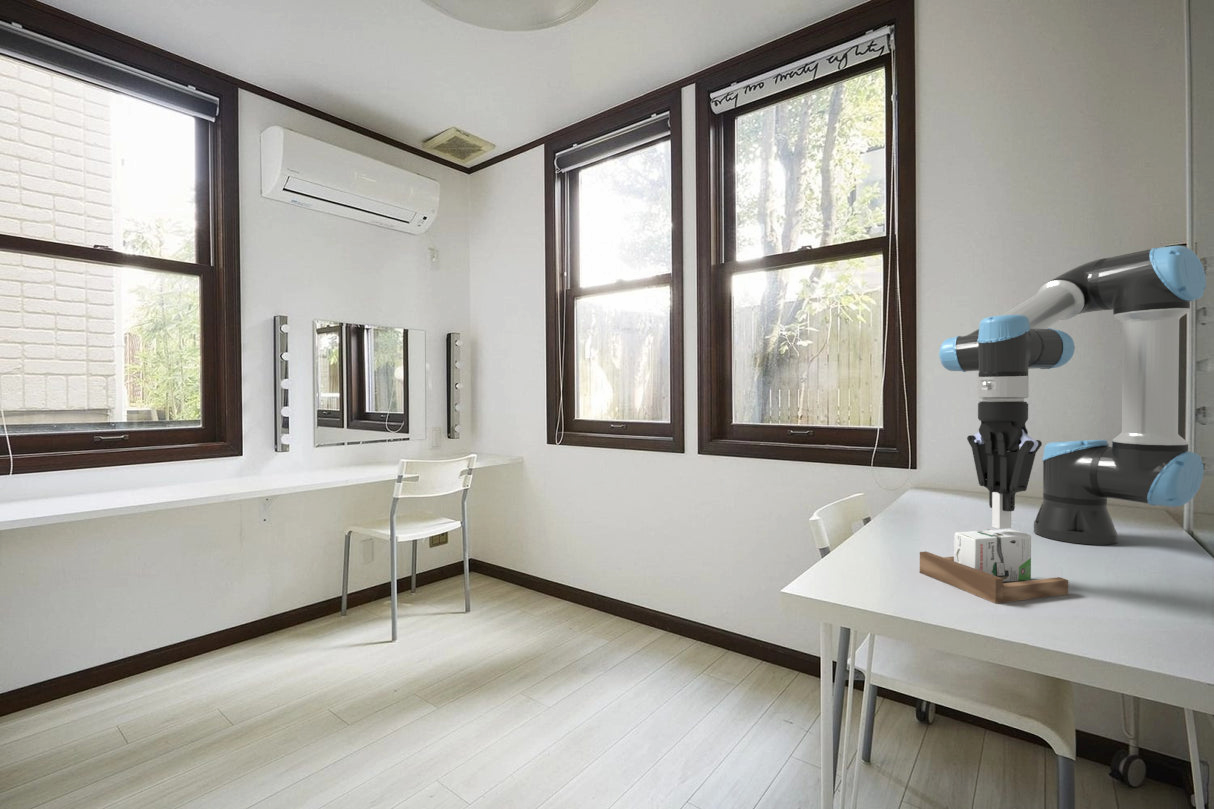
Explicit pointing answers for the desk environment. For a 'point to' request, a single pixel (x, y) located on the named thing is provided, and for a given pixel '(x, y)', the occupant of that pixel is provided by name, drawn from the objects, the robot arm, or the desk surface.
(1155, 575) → the desk surface
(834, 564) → the desk surface
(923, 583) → the desk surface
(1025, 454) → the robot arm
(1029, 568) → the ink box
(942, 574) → the u rest
